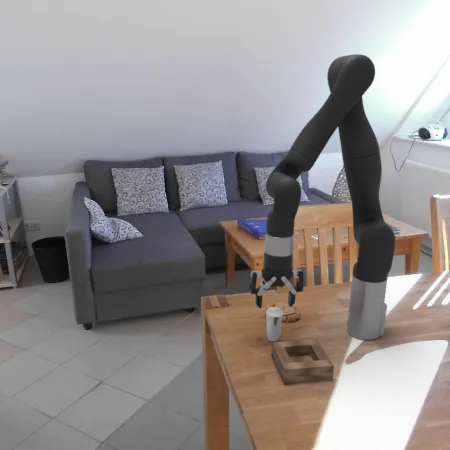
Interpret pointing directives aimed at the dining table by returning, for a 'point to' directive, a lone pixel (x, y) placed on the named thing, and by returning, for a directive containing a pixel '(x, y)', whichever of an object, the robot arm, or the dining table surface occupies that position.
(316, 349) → the socket block
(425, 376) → the dining table surface
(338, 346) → the dining table surface
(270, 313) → the milkshake
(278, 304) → the cookie
